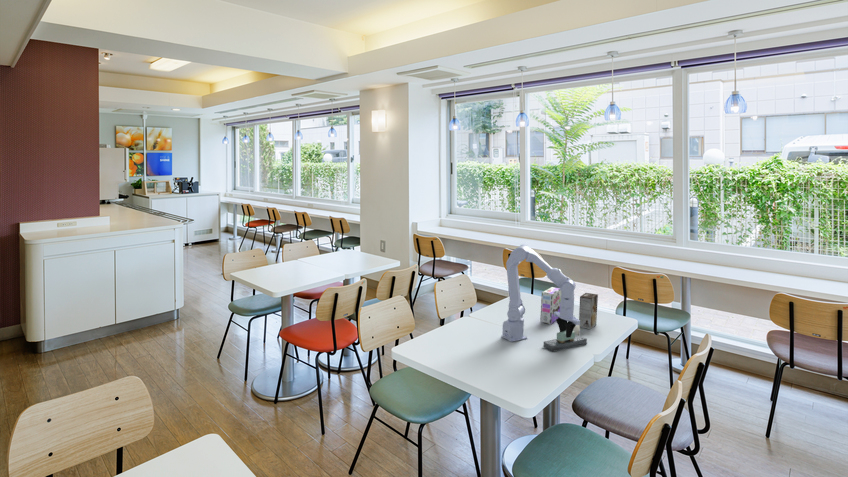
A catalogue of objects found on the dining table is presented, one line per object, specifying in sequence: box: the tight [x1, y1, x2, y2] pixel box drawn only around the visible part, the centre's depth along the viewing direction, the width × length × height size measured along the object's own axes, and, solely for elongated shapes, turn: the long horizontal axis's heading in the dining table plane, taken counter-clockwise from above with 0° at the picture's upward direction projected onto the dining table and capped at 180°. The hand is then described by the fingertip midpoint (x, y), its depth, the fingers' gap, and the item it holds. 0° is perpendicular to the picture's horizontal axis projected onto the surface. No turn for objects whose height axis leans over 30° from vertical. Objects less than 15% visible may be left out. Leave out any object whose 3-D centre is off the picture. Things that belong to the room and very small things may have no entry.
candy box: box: [539, 286, 562, 325], centre depth 243 cm, size 14×6×16 cm, turn 143°
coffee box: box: [578, 292, 599, 330], centre depth 234 cm, size 9×6×16 cm
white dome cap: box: [573, 325, 581, 336], centre depth 223 cm, size 6×6×5 cm
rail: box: [543, 334, 588, 353], centre depth 209 cm, size 20×6×2 cm, turn 116°
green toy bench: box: [556, 331, 575, 343], centre depth 209 cm, size 8×3×6 cm, turn 116°
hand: (565, 335), depth 209 cm, fingers open, 3 cm apart
